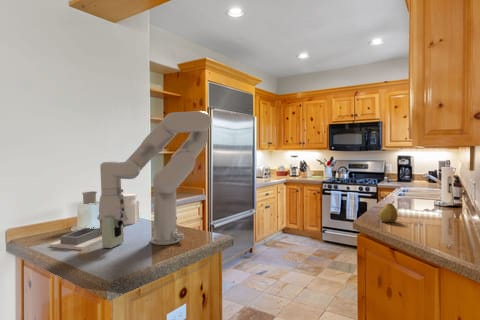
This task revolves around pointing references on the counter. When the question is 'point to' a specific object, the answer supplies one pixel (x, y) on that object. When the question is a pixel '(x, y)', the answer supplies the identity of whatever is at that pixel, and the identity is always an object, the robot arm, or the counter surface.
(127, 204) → the jar
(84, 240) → the grey tray
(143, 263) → the counter surface
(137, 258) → the counter surface
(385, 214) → the fruit
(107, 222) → the pale green upright block
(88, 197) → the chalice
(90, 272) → the counter surface
